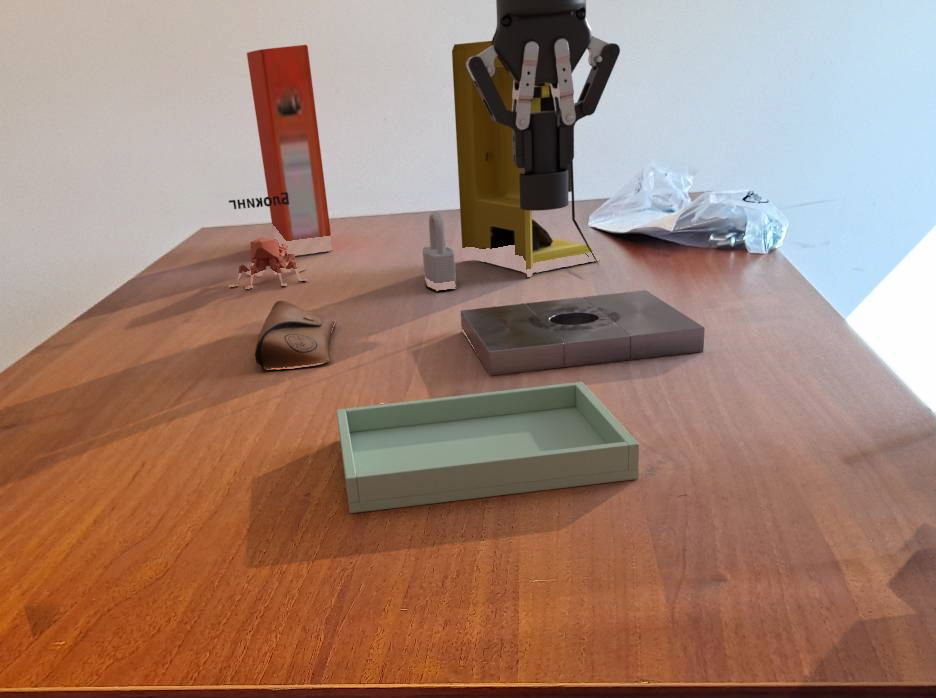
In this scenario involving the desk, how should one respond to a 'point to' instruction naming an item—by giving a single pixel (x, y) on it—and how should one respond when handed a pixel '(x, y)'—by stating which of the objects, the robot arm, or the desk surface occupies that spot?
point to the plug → (544, 167)
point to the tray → (481, 446)
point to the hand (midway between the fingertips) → (543, 170)
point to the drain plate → (579, 332)
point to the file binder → (289, 140)
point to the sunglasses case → (293, 338)
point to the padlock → (438, 253)
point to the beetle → (267, 244)
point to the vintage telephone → (498, 169)
